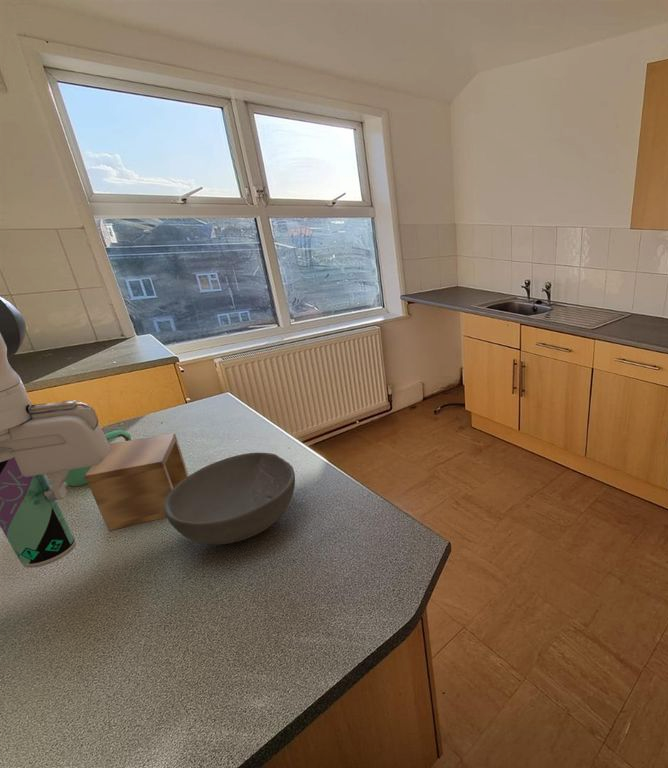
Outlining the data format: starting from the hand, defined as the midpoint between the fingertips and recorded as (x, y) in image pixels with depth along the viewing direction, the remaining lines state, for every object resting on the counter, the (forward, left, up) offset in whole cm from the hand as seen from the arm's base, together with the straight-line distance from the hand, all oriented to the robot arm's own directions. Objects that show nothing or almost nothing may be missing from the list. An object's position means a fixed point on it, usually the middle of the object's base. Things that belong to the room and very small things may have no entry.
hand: (24, 504), depth 57 cm
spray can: (0, 0, -9) cm, 9 cm away
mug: (-9, +42, -19) cm, 47 cm away
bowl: (+21, +10, -19) cm, 30 cm away
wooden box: (+4, +25, -19) cm, 32 cm away
